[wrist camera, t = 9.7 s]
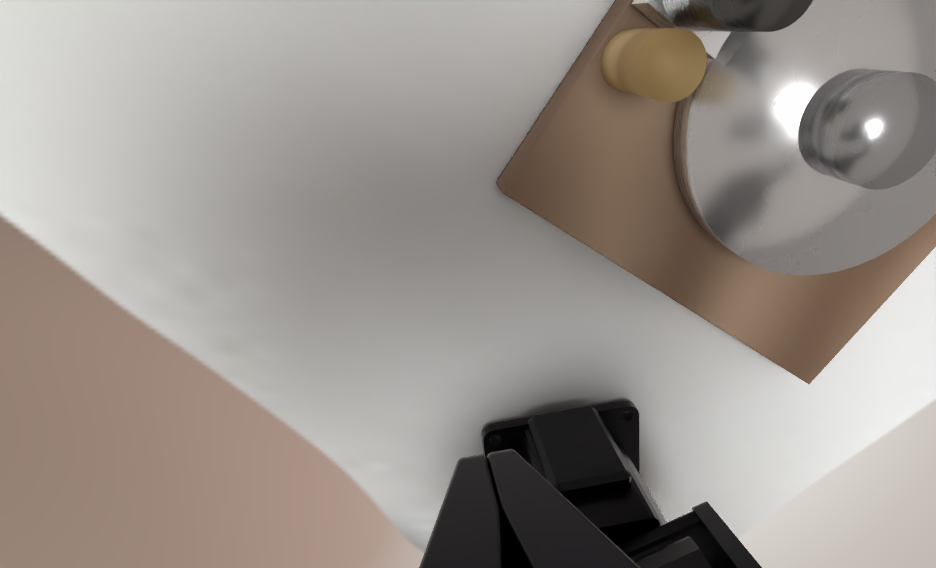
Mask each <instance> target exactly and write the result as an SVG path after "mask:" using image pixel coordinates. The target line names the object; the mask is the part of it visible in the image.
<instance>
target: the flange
mask: <svg viewBox="0 0 936 568" xmlns="http://www.w3.org/2000/svg"><path fill="white" fill-rule="evenodd" d="M632 5H633V6H634V7H635V8H637V9H638V10H639V11H640V12H641V13H643V14H644V15H645V16H646V17H647V18H649V19H650V20H651V21H652V22H653V23H655V24H656V25H657V26H658V27H659V28H682V29H686V30H689V31H691V32H693V33H694V34H696V35H697V36H698V37H699V38H700V40H701V41H702V43H703V45H704V47H705V50H706V56H707V64H706V70H705V74H704V76H703V79H702V81H701V82H700V84H699V85H698V87H697V88H696V89H695V90H694V91H693V92H692V93H691V94H690V95H689V96H687V97H686V98H684V99H682V100H679V103H678V107H677V111H676V119H675V126H674V160H675V168H676V174H677V178H678V182H679V185H680V189H681V192H682V194H683V197H684V199H685V201H686V204H687V206H688V208H689V209H690V211H691V212H692V214H693V216H694V217H695V219H696V221H697V222H698V223H699V224H700V225H701V226H702V227H703V229H704V230H705V231H706V232H707V233H708V234H709V235H710V236H711V237H713V238H714V239H715V240H716V241H717V242H719V243H720V244H721V245H723V246H724V247H726V248H728V249H729V250H731V251H732V252H734V253H735V254H737V255H738V256H740V257H742V258H743V259H745V260H747V261H749V262H750V263H752V264H754V265H756V266H759V267H762V268H764V269H767V270H770V271H774V272H778V273H783V274H791V275H820V274H826V273H832V272H837V271H841V270H844V269H848V268H851V267H854V266H857V265H860V264H862V263H865V262H867V261H869V260H872V259H874V258H876V257H878V256H880V255H882V254H883V253H885V252H887V251H889V250H891V249H892V248H894V247H895V246H897V245H898V244H900V243H901V242H903V241H904V240H906V239H907V238H909V237H910V236H911V235H913V234H914V233H915V232H916V231H917V230H919V229H920V228H921V227H922V226H923V225H925V224H926V223H927V222H928V221H929V220H930V219H931V218H932V217H933V216H934V215H935V214H936V0H634V1H633V2H632Z"/></svg>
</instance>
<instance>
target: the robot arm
mask: <svg viewBox="0 0 936 568" xmlns="http://www.w3.org/2000/svg"><path fill="white" fill-rule="evenodd" d="M626 411H629V413H628V414H627V415H624V416H622V414H623V413H624V412H626ZM493 435H499V437H498V438H496V439H490V437H491V436H493ZM482 443H483V450H484V455H475V456H470V457H464V458H461V459H460V460H459V461H458V463H457V465H456V468H455V471H454V473H453V476H452V479H451V482H450V484H449V487H448V490H447V493H446V495H445V498H444V501H443V504H442V506H441V509H440V512H439V515H438V517H437V520H436V523H435V526H434V528H433V531H432V534H431V537H430V539H429V542H428V545H427V548H426V551H425V553H424V556H423V559H422V562H421V564H420V567H419V568H762V567H761V566H760V565H759V564H758V563H757V561H756V560H755V559H754V558H753V557H752V555H751V554H750V553H749V552H748V551H747V549H746V548H745V547H744V546H743V545H742V543H741V542H740V541H739V540H738V538H737V537H736V536H735V535H734V534H733V532H732V531H731V530H730V529H729V528H728V526H727V525H726V524H725V523H724V522H723V520H722V519H721V518H720V517H719V515H718V514H717V513H716V512H715V511H714V509H713V508H712V507H711V506H710V505H709V503H708V502H707V501H706V502H704V503H702V504H700V505H698V506H695V507H693V508H692V510H693V511H692V512H690V513H688V514H685V515H683V516H681V517H679V518H676V519H674V520H672V521H670V522H668V523H667V522H666V520H665V519H664V517H663V515H662V513H661V512H660V510H659V508H658V506H657V505H656V503H655V501H654V499H653V498H652V496H651V494H650V492H649V491H648V489H647V487H646V485H645V484H644V482H643V480H642V478H641V477H640V475H639V413H638V410H637V408H636V407H635V405H634V404H633V403H632V402H630V401H619V402H613V403H608V404H602V405H596V406H591V407H583V408H578V409H572V410H566V411H561V412H555V413H550V414H544V415H538V416H534V417H529V418H524V419H518V420H512V421H507V422H501V423H495V424H491V425H488V426H487V427H485V428H484V430H483V431H482Z"/></svg>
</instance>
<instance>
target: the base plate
mask: <svg viewBox="0 0 936 568" xmlns="http://www.w3.org/2000/svg"><path fill="white" fill-rule="evenodd" d="M633 1H634V0H615V2H614V3H613V5H612V6H611V8H610V9H609V11H608V12H607V14H606V15H605V17H604V18H603V20H602V22H601V23H600V25H599V26H598V28H597V29H596V31H595V32H594V34H593V35H592V37H591V38H590V40H589V41H588V43H587V44H586V46H585V47H584V49H583V50H582V52H581V53H580V55H579V57H578V58H577V60H576V61H575V63H574V64H573V66H572V67H571V69H570V70H569V72H568V73H567V75H566V76H565V78H564V79H563V81H562V82H561V84H560V85H559V87H558V88H557V90H556V92H555V93H554V95H553V96H552V98H551V99H550V101H549V102H548V104H547V105H546V107H545V108H544V110H543V111H542V113H541V114H540V116H539V117H538V119H537V120H536V122H535V123H534V125H533V127H532V128H531V130H530V131H529V133H528V134H527V136H526V137H525V139H524V140H523V142H522V143H521V145H520V146H519V148H518V149H517V151H516V152H515V154H514V155H513V157H512V158H511V160H510V162H509V163H508V165H507V166H506V168H505V169H504V171H503V172H502V174H501V175H500V177H499V178H498V180H497V181H496V183H497V185H498V186H499V188H500V189H501V190H502V192H503V193H504V194H506V195H507V196H509V197H510V198H512V199H513V200H515V201H517V202H518V203H520V204H521V205H523V206H525V207H526V208H528V209H529V210H531V211H533V212H534V213H536V214H537V215H539V216H541V217H542V218H544V219H545V220H547V221H549V222H550V223H552V224H553V225H555V226H557V227H558V228H560V229H561V230H563V231H565V232H566V233H568V234H569V235H571V236H573V237H574V238H576V239H577V240H579V241H581V242H582V243H584V244H585V245H587V246H589V247H590V248H592V249H593V250H595V251H597V252H598V253H600V254H601V255H603V256H605V257H606V258H608V259H609V260H611V261H613V262H614V263H616V264H617V265H619V266H621V267H622V268H624V269H625V270H627V271H629V272H630V273H632V274H633V275H635V276H637V277H638V278H640V279H641V280H643V281H645V282H646V283H648V284H649V285H651V286H653V287H654V288H656V289H657V290H659V291H661V292H662V293H664V294H665V295H667V296H669V297H670V298H672V299H673V300H675V301H677V302H678V303H680V304H681V305H683V306H685V307H686V308H688V309H689V310H691V311H693V312H694V313H696V314H697V315H699V316H701V317H702V318H704V319H705V320H707V321H709V322H710V323H712V324H713V325H715V326H717V327H718V328H720V329H721V330H723V331H725V332H726V333H728V334H729V335H731V336H733V337H734V338H736V339H737V340H739V341H741V342H742V343H744V344H745V345H747V346H749V347H750V348H752V349H753V350H755V351H757V352H758V353H760V354H761V355H763V356H765V357H766V358H768V359H769V360H771V361H773V362H774V363H776V364H777V365H779V366H781V367H782V368H784V369H785V370H787V371H789V372H790V373H792V374H793V375H795V376H797V377H798V378H800V379H801V380H803V381H805V382H806V383H808V384H810V383H811V382H812V380H813V379H814V378H815V377H816V376H817V375H818V374H819V373H820V372H821V371H822V370H823V369H824V367H825V366H826V365H827V364H828V363H829V362H830V361H831V360H832V359H833V358H834V357H835V355H836V354H837V353H838V352H839V351H840V350H841V349H842V348H843V347H844V346H845V345H846V343H847V342H848V341H849V340H850V339H851V338H852V337H853V336H854V335H855V334H856V333H857V332H858V330H859V329H860V328H861V327H862V326H863V325H864V324H865V323H866V322H867V321H868V320H869V318H870V317H871V316H872V315H873V314H874V313H875V312H876V311H877V310H878V309H879V308H880V306H881V305H882V304H883V303H884V302H885V301H886V300H887V299H888V298H889V297H890V296H891V295H892V293H893V292H894V291H895V290H896V289H897V288H898V287H899V286H900V285H901V284H902V283H903V281H904V280H905V279H906V278H907V277H908V276H909V275H910V274H911V273H912V272H913V271H914V269H915V268H916V267H917V266H918V265H919V264H920V263H921V262H922V261H923V260H924V259H925V258H926V256H927V255H928V254H929V253H930V252H931V251H932V250H933V249H934V248H935V247H936V214H935V215H934V216H933V217H932V218H931V219H930V220H929V221H928V222H927V223H926V224H925V225H923V226H922V227H921V228H920V229H919V230H917V231H916V232H915V233H914V234H913V235H911V236H910V237H909V238H907V239H906V240H904V241H903V242H901V243H900V244H898V245H897V246H895V247H894V248H892V249H891V250H889V251H887V252H885V253H883V254H882V255H880V256H878V257H876V258H874V259H872V260H869V261H867V262H865V263H862V264H860V265H857V266H854V267H851V268H848V269H844V270H841V271H837V272H832V273H826V274H820V275H791V274H783V273H778V272H774V271H770V270H767V269H764V268H762V267H759V266H756V265H754V264H752V263H750V262H749V261H747V260H745V259H743V258H742V257H740V256H738V255H737V254H735V253H734V252H732V251H731V250H729V249H728V248H726V247H724V246H723V245H721V244H720V243H719V242H717V241H716V240H715V239H714V238H713V237H711V236H710V235H709V234H708V233H707V232H706V231H705V230H704V229H703V227H702V226H701V225H700V224H699V223H698V222H697V221H696V219H695V217H694V216H693V214H692V212H691V211H690V209H689V208H688V206H687V204H686V201H685V199H684V197H683V194H682V192H681V189H680V185H679V182H678V178H677V174H676V168H675V160H674V126H675V119H676V111H677V107H678V103H679V100H682V99H684V98H686V97H687V96H689V95H690V94H691V93H692V92H693V91H694V90H695V89H696V88H697V87H698V85H699V84H700V82H701V81H702V79H703V76H704V74H705V70H706V64H707V56H706V50H705V47H704V45H703V43H702V41H701V40H700V38H699V37H698V36H697V35H696V34H694V33H693V32H691V31H689V30H686V29H682V28H659V27H658V26H657V25H656V24H655V23H653V22H652V21H651V20H650V19H649V18H647V17H646V16H645V15H644V14H643V13H641V12H640V11H639V10H638V9H637V8H635V7H634V6H633V5H632V2H633Z"/></svg>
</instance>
